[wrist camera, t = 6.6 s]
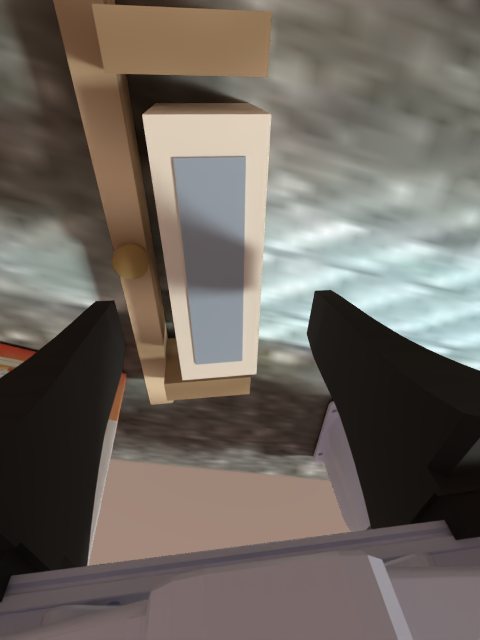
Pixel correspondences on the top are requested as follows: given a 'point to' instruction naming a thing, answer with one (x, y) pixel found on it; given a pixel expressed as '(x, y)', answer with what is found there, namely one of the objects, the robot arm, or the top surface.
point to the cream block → (211, 228)
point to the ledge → (122, 150)
